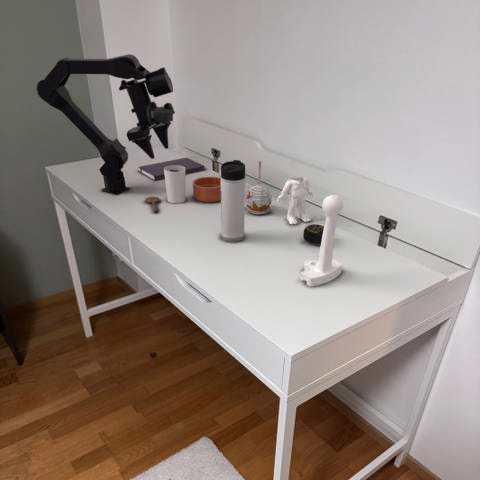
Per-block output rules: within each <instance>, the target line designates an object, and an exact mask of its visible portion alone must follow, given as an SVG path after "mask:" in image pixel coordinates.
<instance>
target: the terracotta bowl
mask: <svg viewBox="0 0 480 480" xmlns="http://www.w3.org/2000/svg"><path fill="white" fill-rule="evenodd" d="M192 196H193V198H194V199H195V200H197V201H199V202H203V203H217V202H221V177H217V176H202V177H198V178H195V179H193V180H192Z"/></svg>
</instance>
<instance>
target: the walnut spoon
mask: <svg viewBox="0 0 480 480" xmlns="http://www.w3.org/2000/svg"><path fill="white" fill-rule="evenodd" d="M144 201H145V203H146V204H148V205H151V206H152V207H151V208H152V210H153V213H155V214H157V213H158V207H157V206H158V205H157V204H159V203H161V200H160V197H158V196H148V197H146V198H145V200H144Z"/></svg>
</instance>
